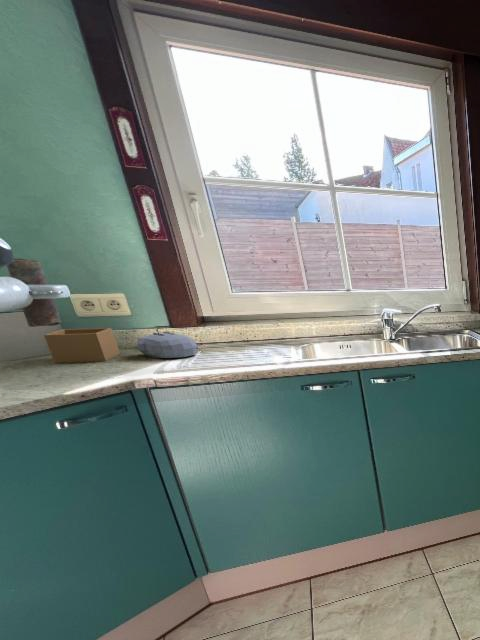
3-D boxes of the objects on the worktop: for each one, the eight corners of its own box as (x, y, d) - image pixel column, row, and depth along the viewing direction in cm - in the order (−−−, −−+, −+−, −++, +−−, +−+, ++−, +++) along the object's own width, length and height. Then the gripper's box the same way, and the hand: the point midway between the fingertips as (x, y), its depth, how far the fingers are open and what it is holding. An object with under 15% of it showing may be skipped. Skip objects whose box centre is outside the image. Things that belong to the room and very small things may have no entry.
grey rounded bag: (133, 355, 180) (163, 362, 172) (125, 332, 177) (155, 338, 169) (180, 349, 193) (210, 355, 185) (173, 328, 190) (204, 332, 182)
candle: (48, 324, 159) (23, 257, 151) (70, 324, 158) (46, 258, 151) (21, 327, 152) (-6, 257, 144) (44, 327, 151) (18, 258, 144)
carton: (54, 363, 166) (43, 335, 163) (72, 356, 177) (62, 329, 174) (105, 360, 172) (96, 333, 168) (120, 353, 183) (111, 328, 179)
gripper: (53, 281, 143) (75, 279, 155) (-48, 281, 135) (-17, 278, 146) (61, 304, 146) (82, 300, 157) (-38, 304, 137) (-8, 300, 149)
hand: (34, 289), depth 152 cm, fingers closed on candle, 7 cm apart
